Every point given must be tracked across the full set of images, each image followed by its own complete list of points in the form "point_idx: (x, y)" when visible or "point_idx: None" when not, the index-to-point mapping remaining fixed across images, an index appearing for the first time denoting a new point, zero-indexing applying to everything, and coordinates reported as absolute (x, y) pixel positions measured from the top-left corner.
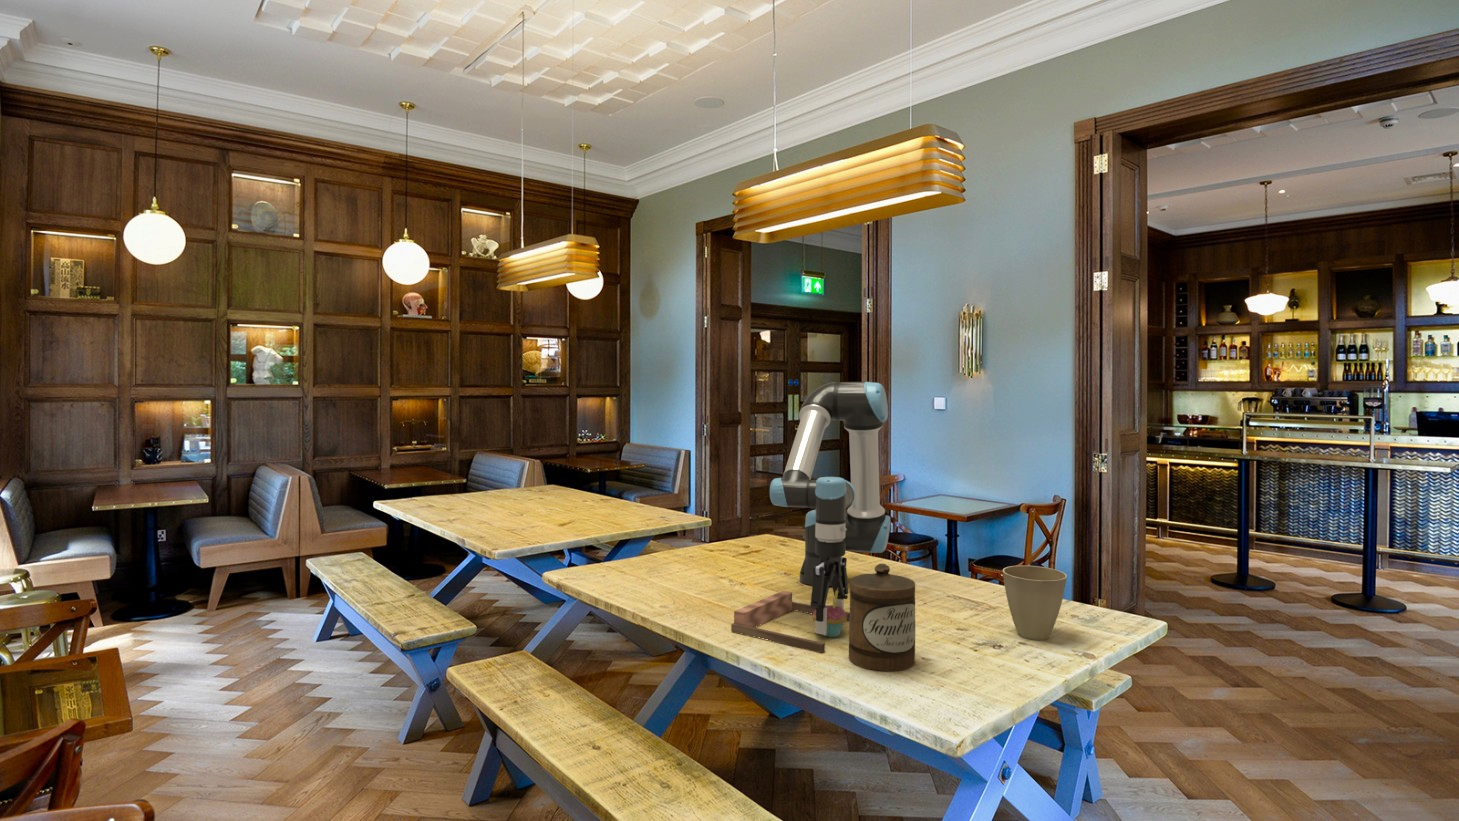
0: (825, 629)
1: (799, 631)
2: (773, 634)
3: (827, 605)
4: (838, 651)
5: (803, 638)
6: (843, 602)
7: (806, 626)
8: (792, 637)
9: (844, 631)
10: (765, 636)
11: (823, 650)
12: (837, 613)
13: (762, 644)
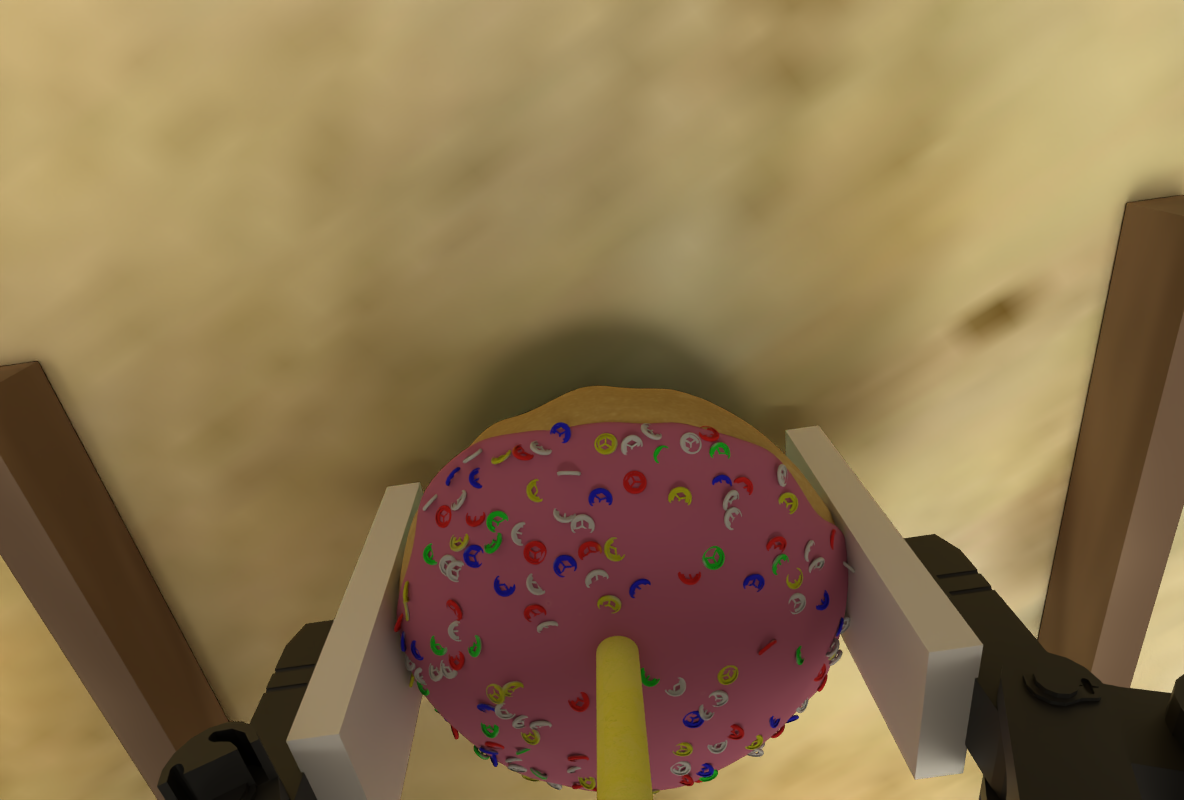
0: (837, 457)
1: None
2: None
3: (587, 758)
4: (1047, 90)
5: (1142, 474)
6: (306, 698)
7: None
8: (1157, 556)
9: (424, 425)
10: None
11: (1170, 203)
12: (706, 515)
13: (1167, 662)
